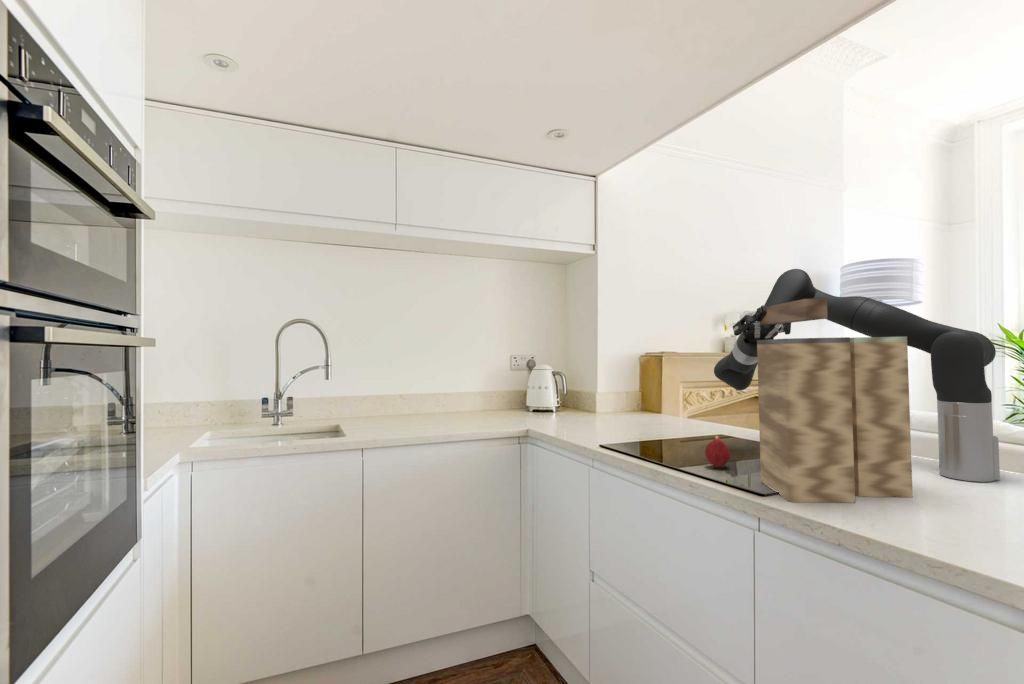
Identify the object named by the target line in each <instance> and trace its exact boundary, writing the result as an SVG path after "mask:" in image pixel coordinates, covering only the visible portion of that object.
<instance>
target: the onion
mask: <svg viewBox="0 0 1024 684" xmlns="http://www.w3.org/2000/svg"><path fill="white" fill-rule="evenodd" d="M704 453H705V457H706V459H707V460H708V462H709V463H710V465H712V466H714V467H715V468H717V469H719V468H721V467H723V466H724V465H725V464H727V462H728V461H729V460H730V458H731V451H730V448H729V446H728V444H726V442H724V441H723V440H721V438H720V436H718V435H716V436H714V439H713V440H712V441H710V442H709V443H708V444H707V445H706V448H705V451H704Z"/></svg>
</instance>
